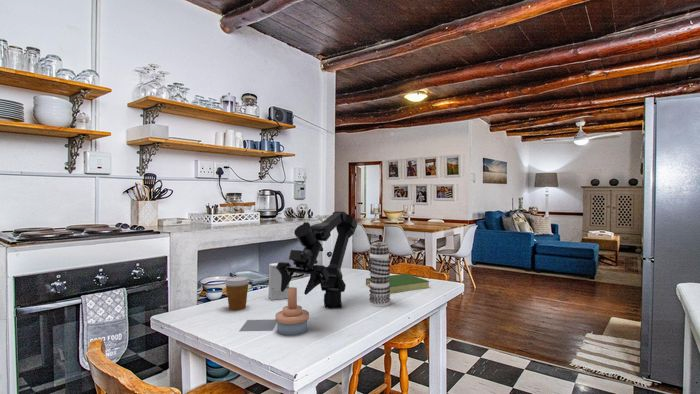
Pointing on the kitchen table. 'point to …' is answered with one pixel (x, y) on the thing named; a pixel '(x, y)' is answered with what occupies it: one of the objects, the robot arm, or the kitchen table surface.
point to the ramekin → (292, 328)
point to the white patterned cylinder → (379, 274)
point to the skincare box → (276, 284)
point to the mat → (259, 325)
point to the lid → (292, 310)
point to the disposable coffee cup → (237, 292)
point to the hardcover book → (404, 283)
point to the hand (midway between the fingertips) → (293, 292)
